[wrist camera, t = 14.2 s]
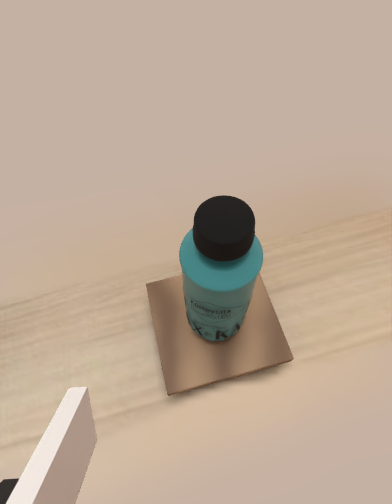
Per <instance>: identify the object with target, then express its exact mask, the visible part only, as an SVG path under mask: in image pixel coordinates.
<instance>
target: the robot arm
mask: <svg viewBox="0 0 392 504" xmlns="http://www.w3.org/2000/svg"><path fill="white" fill-rule="evenodd" d="M96 442H97V436H96V431H95V426H94V420H93V415H92V410H91V404H90V399H89V394H88V388H87V387H76V388H69V389H68V391H67V393H66V395H65V396H64V398H63V400H62V402H61V404H60V406H59V407H58V409H57V411H56V413H55V415H54V417H53V418H52V420H51V422H50V424H49V426H48V428H47V429H46V431H45V433H44V435H43V437H42V438H41V440H40V442H39V444H38V446H37V448H36V449H35V451H34V453H33V455H32V457H31V459H30V460H29V462H28V464H27V466H26V468H25V470H24V471H23V473H22V475H21V477H20V478H19V479H5V480H3V481H2V482H1V483H0V504H75V503H76V500H77V497H78V494H79V491H80V488H81V485H82V483H83V479H84V477H85V474H86V471H87V468H88V465H89V462H90V459H91V456H92V453H93V450H94V447H95V444H96Z"/></svg>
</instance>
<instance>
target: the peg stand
mask: <svg viewBox="0 0 392 504" xmlns="http://www.w3.org/2000/svg"><path fill="white" fill-rule="evenodd" d="M181 281H182V282H181ZM181 284H182V285H181ZM182 286H183V275H180V276H176V277H172V278H168V279H164V280H160V281H156V282H152V283H148V284H146V287H147V292H148V297H149V302H150V308H151V313H152V318H153V323H154V328H155V333H156V338H157V343H158V348H159V354H160V359H161V364H162V369H163V374H164V379H165V384H166V389H167V394H168V395H169V396H170V395H174V394H177V393H181V392H184V391H188V390H191V389H195V388H198V387H202V386H205V385H209V384H213V383H216V382H220V381H223V380H227V379H230V378H234V377H237V376H241V375H244V374H248V373H251V372H255V371H258V370H262V369H265V368H269V367H273V366H276V365H280V364H283V363H287V362H290V361H292V360H293V359H294V358H293V356H292V353H291V351H290V348H289V346H288V343H287V341H286V338H285V336H284V333H283V331H282V328H281V326H280V323H279V321H278V318H277V316H276V313H275V311H274V308H273V306H272V303H271V301H270V298H269V296H268V293H267V291H266V288H265V286H264V283H263V281H262V278H261V276H260V273H259V274H258V276H257V279H256V282H255V285H254V287H255V288H253V292H252V295H251V298H250V303H249V306H250V307H249V306H248V308H249V309H247V313H245V315H246V314H247V315H246V317H245V316H244V318H245V320H244V319H243V321H244V323H243V322H242V324H243V325H242V324H241V326H240V328H241V327H242V328H241V329H239V330H240V331H239V330H238V331H237V332H236V333H235V336H231V337H230V338H228V340H227V339H226V340H222V341H221V342H220V341H212V342H211V341H210V340H208V341H207V339H205V340H204V338H202V337H201V336H199V335H198V336H197V334H196V332H195V331H194V330H191V328H192V327H191V326H190V324H188V319H187V314H186V312H187V308H185V307H186V306H185V299H184V295H185V293H184V291H182ZM183 287H184V286H183ZM183 290H184V288H183ZM254 291H255V292H254ZM183 293H184V294H183ZM252 297H253V298H252ZM185 311H186V312H185ZM200 337H201V338H200Z"/></svg>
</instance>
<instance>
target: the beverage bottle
mask: <svg viewBox="0 0 392 504" xmlns="http://www.w3.org/2000/svg"><path fill="white" fill-rule="evenodd" d="M254 229H255V217H254V214H253V212H252V210H251V208H250V207H249V206H248V205H247V204H246V203H245V202H244V201H242V200H241V199H238V198H236V197H232V196H216V197H212V198H210V199H208V200H206V201H205V202H203V203H202V204H201V205H200V206H199V207H198V209H197V211H196V213H195V216H194V225H193V228H192V229H191V230H190V231H189V232H188V233H187V234H186V236H185V237H184V239H183V241H182V243H181V247H180V252H179V257H180V264H181V267H182V274H183V286H184V287H183V286H182V291H184V293H185V295H184V299H185V306H186V307H185V308H187V312H186V311H185V312H186V314H187V319H188V324H190V326H191V327H192V328H191V330H194V331H195V332H196V334H197V336H198V335H199V336H201V337H202V338H204V340H205V339H207V341H208V340H210V341H211V342H212V341H220V342H221V341H222V340H226V339H227V340H228V338H230V337H231V336H235V333H236V332H237V331H238V330H239V329H241V328H242V327H241V328H240V326H241V324H242V322H243V323H244V321H243V319H244V320H245V318H244V316H245V317H246V315H247V314H246V315H245V313H247V309H249V308H248V306H249V303H250V298H251V295H252V292H253V288H255V287H254V285H255V282H256V279H257V276H258V274H259V272H260V270H261V267H262V263H263V250H262V246H261V244H260V242H259V240H258V238H257V237H256V235H255V230H254ZM181 282H182V281H181ZM181 285H182V284H181ZM183 288H184V290H183ZM254 292H255V291H254ZM184 293H183V294H184ZM252 298H253V297H252ZM249 307H250V306H249ZM242 325H243V324H242ZM239 331H240V330H239ZM201 337H200V338H201Z"/></svg>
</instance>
